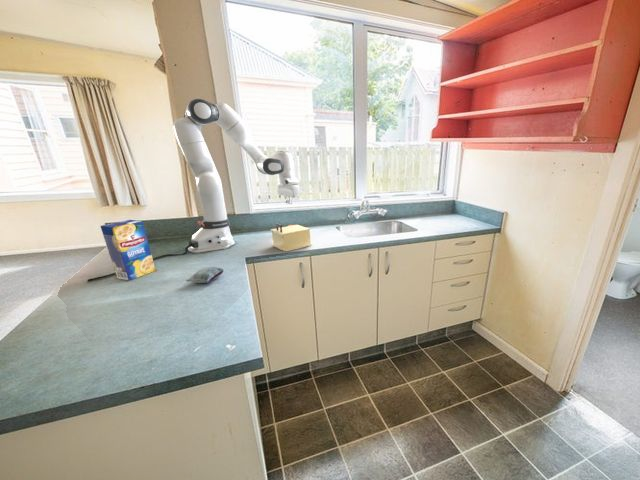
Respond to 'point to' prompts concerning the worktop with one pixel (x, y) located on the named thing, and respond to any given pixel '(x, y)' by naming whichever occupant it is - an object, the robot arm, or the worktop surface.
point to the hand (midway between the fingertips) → (289, 203)
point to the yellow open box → (291, 240)
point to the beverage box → (128, 249)
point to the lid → (288, 229)
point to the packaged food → (206, 275)
